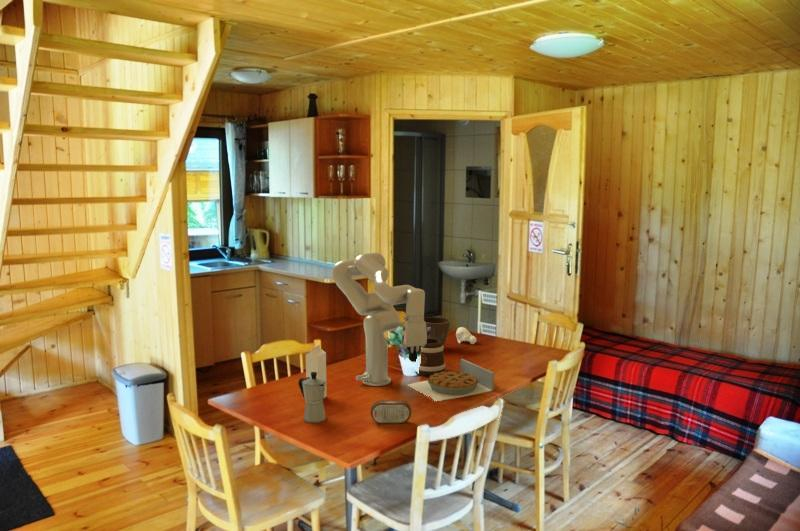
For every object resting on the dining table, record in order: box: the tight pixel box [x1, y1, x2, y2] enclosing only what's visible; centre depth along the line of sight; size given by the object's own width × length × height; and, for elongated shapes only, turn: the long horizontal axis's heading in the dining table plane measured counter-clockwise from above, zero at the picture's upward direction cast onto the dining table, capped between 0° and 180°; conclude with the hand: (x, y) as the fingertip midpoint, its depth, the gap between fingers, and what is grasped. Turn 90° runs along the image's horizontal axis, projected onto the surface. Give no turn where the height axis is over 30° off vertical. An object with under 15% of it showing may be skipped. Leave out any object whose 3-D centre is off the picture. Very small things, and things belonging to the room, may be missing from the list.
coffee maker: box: [298, 372, 327, 424], centre depth 231 cm, size 15×9×18 cm, turn 48°
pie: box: [427, 370, 479, 395], centre depth 265 cm, size 22×22×5 cm
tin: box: [370, 399, 412, 425], centre depth 227 cm, size 15×3×8 cm, turn 92°
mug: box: [419, 339, 447, 377], centre depth 290 cm, size 20×15×15 cm
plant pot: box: [424, 316, 451, 346], centre depth 328 cm, size 15×15×16 cm
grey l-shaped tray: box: [407, 358, 495, 403], centre depth 266 cm, size 29×24×9 cm
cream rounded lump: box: [455, 326, 477, 345], centre depth 341 cm, size 6×8×12 cm
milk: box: [305, 344, 327, 399], centre depth 252 cm, size 6×6×22 cm
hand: (412, 360), depth 257 cm, fingers closed
